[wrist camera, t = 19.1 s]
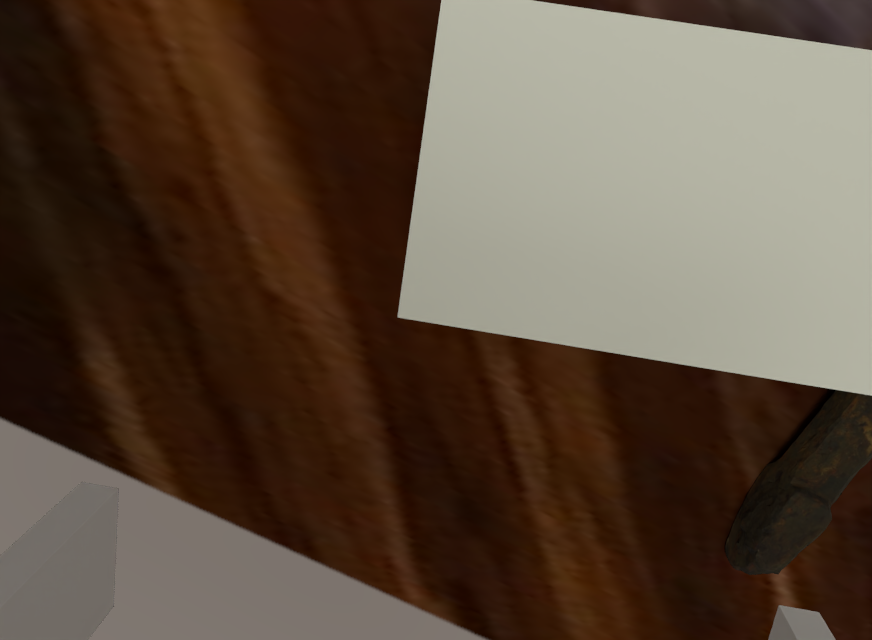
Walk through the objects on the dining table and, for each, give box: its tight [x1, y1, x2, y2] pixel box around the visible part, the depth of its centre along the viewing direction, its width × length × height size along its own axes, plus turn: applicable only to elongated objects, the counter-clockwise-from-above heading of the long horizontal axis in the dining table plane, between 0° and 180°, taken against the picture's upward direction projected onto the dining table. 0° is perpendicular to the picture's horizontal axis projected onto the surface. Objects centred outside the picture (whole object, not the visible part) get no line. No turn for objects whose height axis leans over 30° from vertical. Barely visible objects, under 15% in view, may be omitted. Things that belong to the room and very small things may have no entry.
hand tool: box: [725, 390, 872, 575], centre depth 42 cm, size 19×4×5 cm, turn 146°
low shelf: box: [398, 0, 872, 396], centre depth 35 cm, size 24×12×12 cm, turn 82°
